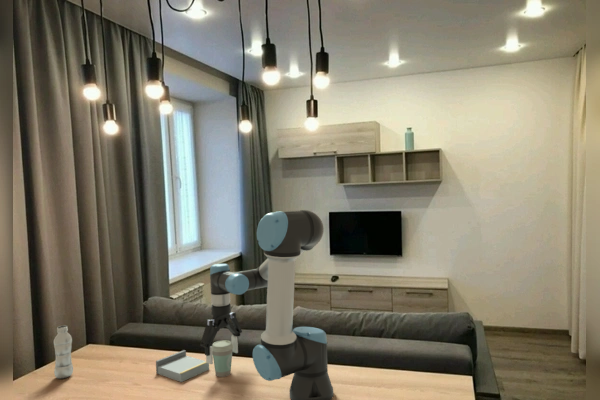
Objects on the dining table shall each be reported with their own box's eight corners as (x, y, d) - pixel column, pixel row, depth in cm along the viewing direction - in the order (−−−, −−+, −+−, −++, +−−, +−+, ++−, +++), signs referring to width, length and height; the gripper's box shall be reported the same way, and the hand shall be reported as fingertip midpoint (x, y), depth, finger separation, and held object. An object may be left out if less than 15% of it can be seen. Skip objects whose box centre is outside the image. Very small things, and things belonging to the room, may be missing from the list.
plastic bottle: (50, 379, 175) (48, 328, 174) (66, 372, 181) (64, 323, 180) (61, 381, 172) (59, 330, 171) (77, 375, 178) (75, 325, 177)
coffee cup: (229, 378, 170) (228, 347, 170) (208, 377, 171) (207, 346, 171) (237, 370, 178) (236, 340, 178) (217, 368, 180) (216, 339, 180)
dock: (209, 369, 179) (208, 357, 179) (181, 382, 168) (180, 368, 168) (184, 361, 188) (183, 350, 188) (156, 373, 177) (155, 360, 177)
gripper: (236, 296, 187) (237, 346, 187) (189, 309, 166) (191, 366, 167) (249, 298, 182) (251, 349, 183) (203, 312, 162) (205, 370, 162)
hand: (222, 357), depth 175 cm, fingers open, 13 cm apart
